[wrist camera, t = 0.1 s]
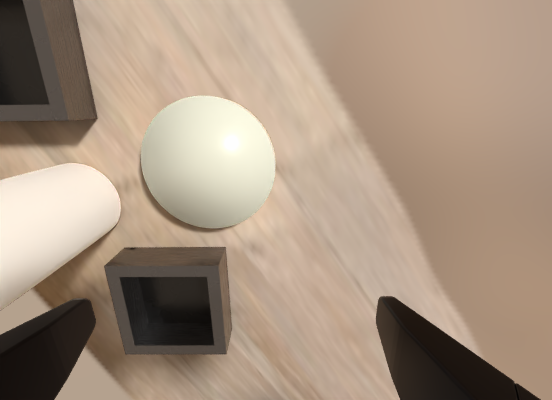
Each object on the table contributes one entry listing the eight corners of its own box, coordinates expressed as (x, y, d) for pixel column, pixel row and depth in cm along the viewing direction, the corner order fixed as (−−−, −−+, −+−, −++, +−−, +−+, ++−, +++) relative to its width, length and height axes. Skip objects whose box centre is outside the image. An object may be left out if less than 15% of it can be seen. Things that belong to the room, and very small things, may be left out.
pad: (276, 220, 23) (276, 228, 22) (159, 221, 24) (151, 228, 22) (274, 95, 20) (274, 94, 19) (139, 97, 20) (129, 96, 19)
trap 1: (97, 118, 21) (68, 120, 18) (-20, 119, 21) (-66, 121, 18) (67, -25, 18) (27, -49, 15) (-68, -22, 18) (-132, -46, 15)
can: (116, 244, 24) (-27, 365, 13) (41, 219, 24) (-180, 323, 12) (131, 178, 22) (-21, 252, 11) (50, 149, 22) (-202, 195, 10)
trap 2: (231, 328, 27) (226, 354, 24) (141, 328, 27) (125, 354, 24) (225, 247, 24) (218, 265, 21) (124, 247, 24) (104, 266, 22)
